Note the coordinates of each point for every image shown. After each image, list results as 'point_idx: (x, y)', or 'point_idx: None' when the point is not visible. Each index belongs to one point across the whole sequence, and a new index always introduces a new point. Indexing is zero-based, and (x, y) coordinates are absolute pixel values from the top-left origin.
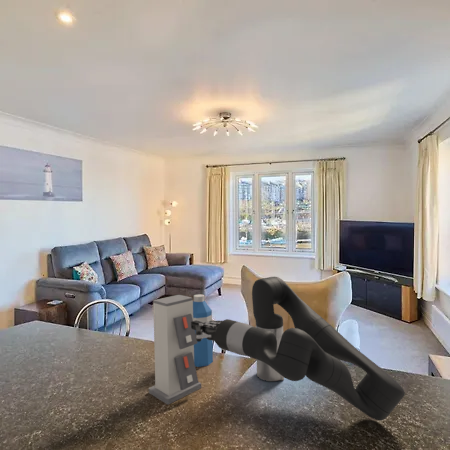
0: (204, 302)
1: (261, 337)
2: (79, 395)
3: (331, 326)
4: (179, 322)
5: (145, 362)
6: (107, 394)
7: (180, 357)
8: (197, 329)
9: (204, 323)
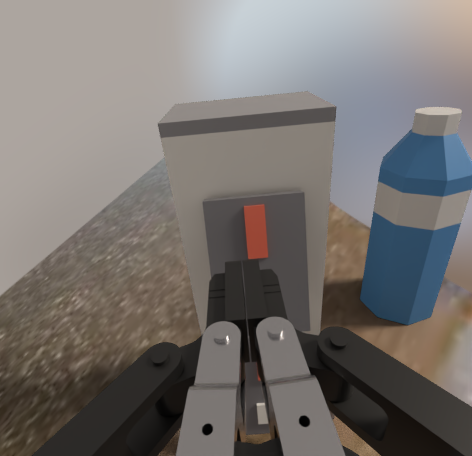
0: (452, 140)
1: None
2: (121, 280)
3: None
4: (222, 226)
5: None
6: (150, 302)
7: None
8: (56, 451)
9: (257, 342)
